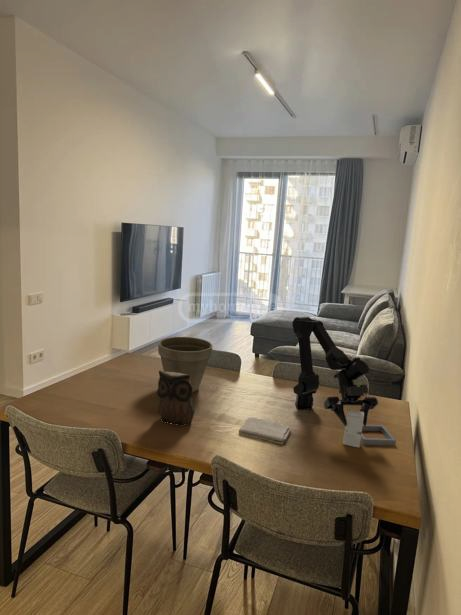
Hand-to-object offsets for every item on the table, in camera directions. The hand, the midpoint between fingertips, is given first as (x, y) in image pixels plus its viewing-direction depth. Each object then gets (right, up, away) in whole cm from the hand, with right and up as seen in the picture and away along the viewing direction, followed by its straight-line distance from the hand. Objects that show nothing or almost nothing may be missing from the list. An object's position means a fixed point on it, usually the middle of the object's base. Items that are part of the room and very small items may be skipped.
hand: (355, 425), depth 151 cm
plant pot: (-66, +4, +47) cm, 82 cm away
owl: (-65, -2, +15) cm, 67 cm away
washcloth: (-32, -5, +8) cm, 33 cm away
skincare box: (-1, -7, +3) cm, 8 cm away
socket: (+9, -7, +9) cm, 14 cm away
